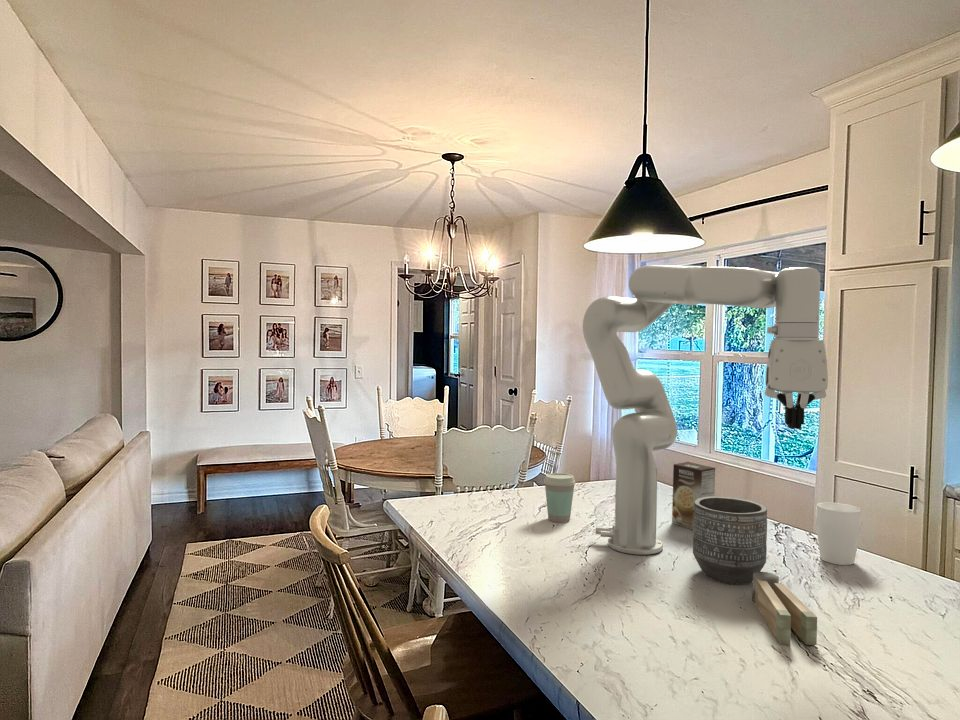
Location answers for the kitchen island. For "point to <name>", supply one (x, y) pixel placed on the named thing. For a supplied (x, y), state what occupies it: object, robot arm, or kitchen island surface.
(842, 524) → the cup
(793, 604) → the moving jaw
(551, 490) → the coffee cup
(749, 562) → the planter
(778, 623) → the tongs base
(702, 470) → the coffee box
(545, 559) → the kitchen island surface
